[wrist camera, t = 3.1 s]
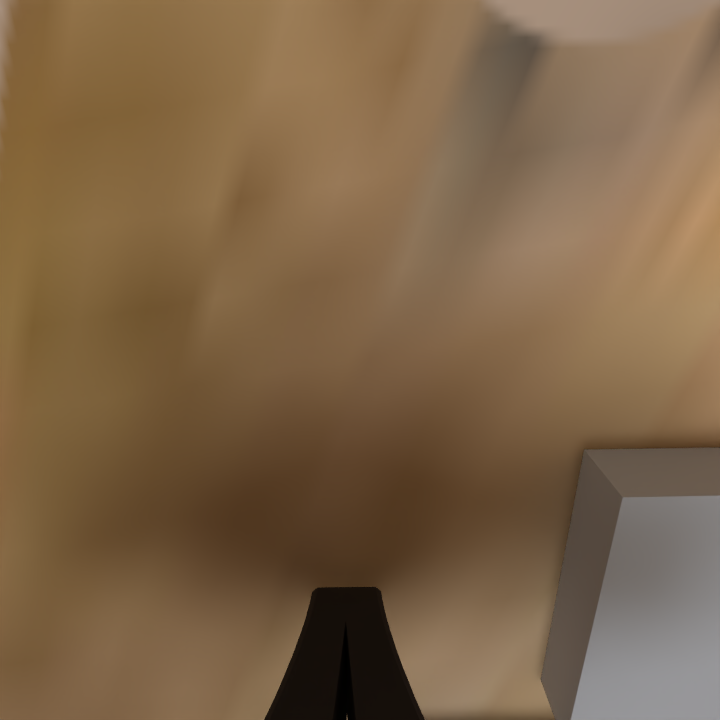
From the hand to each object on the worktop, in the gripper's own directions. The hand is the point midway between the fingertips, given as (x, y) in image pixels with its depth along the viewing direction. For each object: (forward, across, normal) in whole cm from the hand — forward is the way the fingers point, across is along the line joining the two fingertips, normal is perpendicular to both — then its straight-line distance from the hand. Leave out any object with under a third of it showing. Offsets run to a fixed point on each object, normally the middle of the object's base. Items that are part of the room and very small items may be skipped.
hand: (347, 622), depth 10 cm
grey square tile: (+2, -8, 0) cm, 8 cm away
